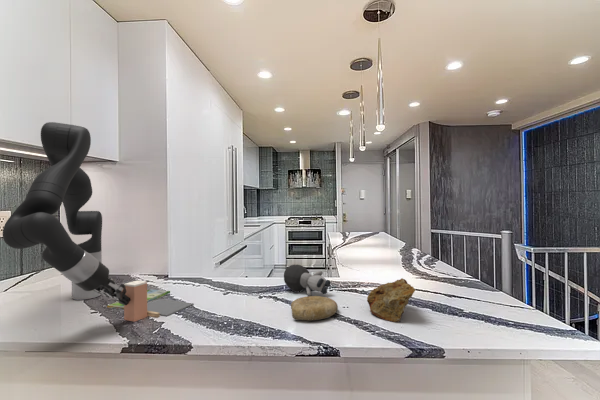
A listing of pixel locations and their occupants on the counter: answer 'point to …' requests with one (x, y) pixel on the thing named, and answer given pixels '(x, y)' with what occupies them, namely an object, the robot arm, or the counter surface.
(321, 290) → the toy
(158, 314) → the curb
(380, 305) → the rock
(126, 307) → the block
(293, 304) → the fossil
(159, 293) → the green flat panel
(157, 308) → the mat
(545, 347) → the counter surface
